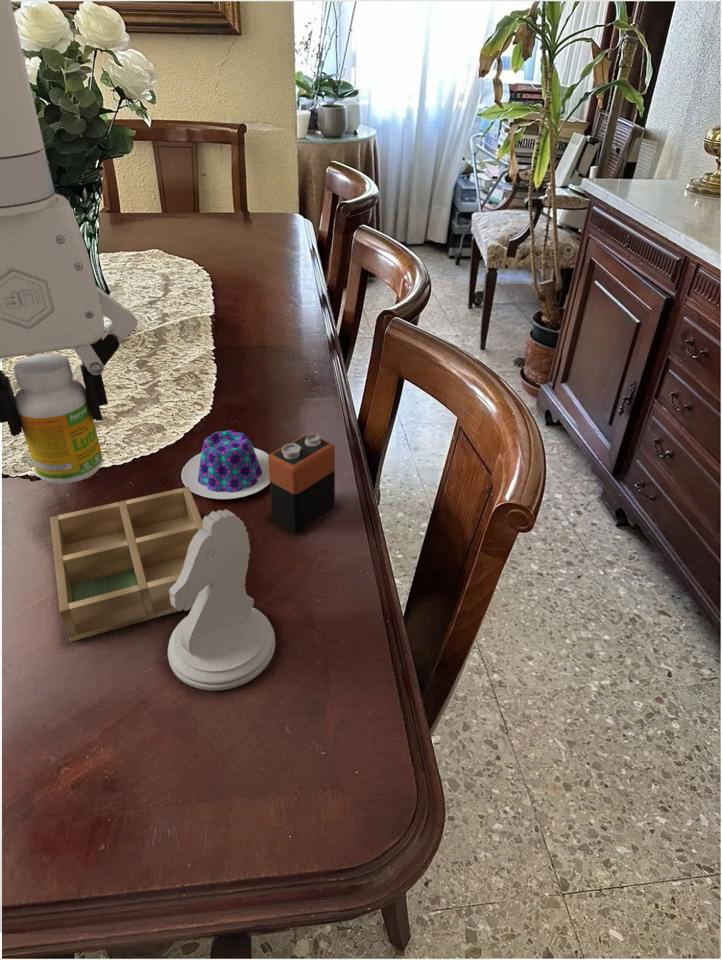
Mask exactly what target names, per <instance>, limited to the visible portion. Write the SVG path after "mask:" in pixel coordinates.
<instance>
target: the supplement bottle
mask: <svg viewBox="0 0 722 960" xmlns="http://www.w3.org/2000/svg"><path fill="white" fill-rule="evenodd" d="M13 372H14V375H15V381H16V383H17V385H18V387H19V389H18V390H17V391H16V393H15V394H14V396H15V399H14V403H15V407H16V411H17V414H18V418H19V421H20V424H21V427H22V432H23V436H24V439H25V442H26V446H27V449H28V452H29V454H30V458H31V461H32V464H33V468H34V470H35V473H36V475H37V476H38V477H39V479H41V480H42V481H44V482H46V483H50V484H55V485H65V484H73V483H76V482H80V481H82V480H83V481H84V480H85V479H88V478H90V477H91V476H94V475H95V474H96V473H97V472H98V471H99V470H100V468H101V467H102V464H103V459H104V458H103V454H102V449H101V445H100V440H99V437H98V432H97V428H96V424H95V421H94V420H93V417H92V413H91V409H90V405H89V401H88V397H87V393H86V388H85V385H84V384H82V383H81V382H80V381H78V380H77V379H75V378H74V375H73V371H72V367H71V364H70V360H69V359H68V358H67V356H65V355H62V354H58V353H38V354H33V355H29V356H27V357H24V358H22V359H20V360H19V361H17V362H16V363H15V364H14V365H13Z"/></svg>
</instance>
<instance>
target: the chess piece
mask: <svg viewBox="0 0 722 960" xmlns="http://www.w3.org/2000/svg"><path fill="white" fill-rule="evenodd" d="M202 521H203V522H202V528H203V529H201V530H199V531H198V532H197V533H196V534H195V535H194V537H193V539H192V541H191V543H190V545H189V548H188V552H187V556H186V559H185V562H184V567H183V569H182V572H181V574H180V576H179V578H178V580H177V581H176V583H175V584H174V585H173V586H172V587H171V588H170V589H169V593H170V602H171V605H172V606H173V607H174V608H176V609H177V610H178V611H177V612H181V611H185V612H186V611H189V610H190V611H189V613H188V614H187V615H186V616H185V617H184V618H183V619H181V620H180V622H179V623H178V624H177V625H176V626H175V627H174V629H173V631H172V633H171V635H170V637H169V641H168V647H167V659H168V664H169V667H170V668H171V671H172V672H173V673H174V676H176V677H177V678H178V679H179V680H180V681H181V682H183V683H184V684H187V685H188V686H190V687H193V688H195V689H199V690H203V691H224V690H225V691H226V690H231V689H234V688H238V687H240V686H243V685H244V684H247V683H248V682H250V681H252V680H254V679H255V678H256V677H257V676H259V675H261V673H262V672H263V671H264V670H266V668H267V667H268V665H269V664H270V663H271V660H272V658H273V656H274V653H275V650H276V634H275V631H274V628H273V626H272V624H271V622H270V620H269V619H268V617H267V616H266V615H265V614H264V613H263V612H261V611H260V610H259V609H257V608H255V607H253V606H254V604H255V600H254V598H252V597H251V596H249V595H248V594H247V590H246V588H247V587H246V586H245V585H246V578H247V577H246V576H247V573H248V567H249V561H250V553H251V544H250V539H249V532H247V526H246V525H245V523H244V521H243V520H242V519H241V518H240V517H238V516H237V514H235V513H233V512H232V511H230V510H228V509H226V508H225V509H223V510H221V509H218V510H217V511H214V510H212V511H211V512H210V513H209V514H208V515H205V516H204V517H203V518H202ZM197 594H198V596H197ZM196 596H197V598H196ZM195 598H196V600H195ZM194 600H195V602H194V604H193V601H194ZM192 605H193V606H192ZM182 609H183V610H182Z"/></svg>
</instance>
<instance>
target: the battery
mask: <svg viewBox="0 0 722 960" xmlns="http://www.w3.org/2000/svg"><path fill="white" fill-rule="evenodd" d="M335 454H336V447H335V444H333V443H332V442H329V441H327V440H326V439H323V438H321V437H320V435H319V434H317V433H310V432H308V433H305V434H303V435H302V436H300V437H298V438H297V439H295V440H293V441H291V442H289V443H287V444H284V445H283V446H282V447H280V448H279V449H277V450H275V451H272V453H270V454H268V455H269V456H268V463H269V478H270V484H269V487H270V488H269V490H270V503H271V505H270V506H271V518H272V519H273V520H274V521H276V522H277V523H279V524H281V525H283V526H284V527H286V528H287V529H289V530H291V531H293V532H294V533H299V532H301V531H302V530H304V529H305V528H307V527H308V526H309V525H311V524H313V523H314V522H315V521H317V520H319V519H320V518H322V517H323V516H325V514H327V513H329V512H330V511H331V510H333V509H334V508H335V505H336V497H335V496H336V489H335V488H336V455H335Z"/></svg>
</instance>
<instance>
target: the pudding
mask: <svg viewBox="0 0 722 960" xmlns="http://www.w3.org/2000/svg"><path fill="white" fill-rule="evenodd" d="M269 455H270V454H269V453H267V452H266V451H264V450H262V449H259V448H256V447H254V446H253V443H252V441H251V440H250V439H249V437H248V435H246V433H244V432H242V431H240V432H239V431H236V430H231V429H227V430H225V431H221V430H219V431H215V432H214V433H212V434H211V435H209V436H207V437H206V438H205V439H203V443H202V446H201V452H199V453H198V454H196V455H194V456H193V457H192V458H190V459H189V460H188V461H187V463H185V464H184V466H183V468H182V470H181V474H180V475H181V476H180V478H181V481H182V483H183V485H184V487H189V489H190V491H191V493H193V494H195V495H198V496H200V497H204V498H208V499H215V500H231V499H239V498H243V497H248V496H250V495H254V494H256V493H258V492H260V491H262V490H263V489H265V488H266V487H267V486H269V485H270V478H269V463H268V456H269Z"/></svg>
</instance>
